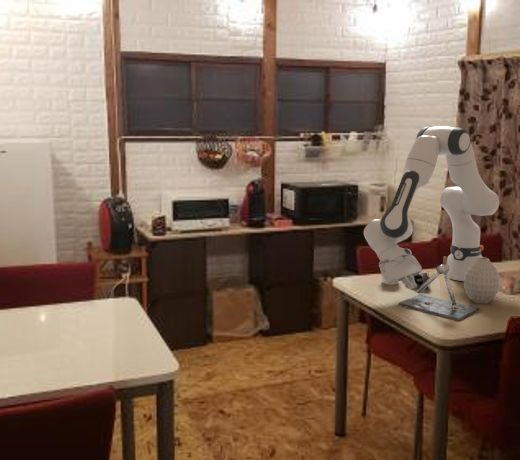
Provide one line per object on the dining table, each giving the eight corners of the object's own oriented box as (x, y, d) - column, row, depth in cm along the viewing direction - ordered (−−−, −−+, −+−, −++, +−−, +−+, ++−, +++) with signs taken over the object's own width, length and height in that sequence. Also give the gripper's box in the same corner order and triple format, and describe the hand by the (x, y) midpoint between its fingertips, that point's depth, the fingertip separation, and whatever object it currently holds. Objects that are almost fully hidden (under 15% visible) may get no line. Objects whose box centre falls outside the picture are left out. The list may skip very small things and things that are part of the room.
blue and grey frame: (419, 296, 234) (422, 248, 230) (478, 310, 217) (482, 259, 214) (398, 305, 224) (400, 254, 220) (458, 320, 207) (462, 266, 203)
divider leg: (416, 288, 225) (442, 262, 216) (422, 294, 224) (448, 269, 215) (414, 289, 224) (440, 263, 215) (420, 295, 223) (446, 270, 214)
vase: (501, 299, 230) (505, 257, 227) (493, 308, 220) (497, 264, 217) (467, 293, 237) (470, 252, 234) (458, 302, 227) (461, 259, 224)
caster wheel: (406, 288, 254) (431, 286, 252) (405, 289, 243) (431, 288, 241) (405, 272, 255) (429, 270, 252) (403, 273, 244) (429, 271, 241)
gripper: (382, 257, 221) (404, 288, 216) (412, 248, 235) (433, 277, 230) (371, 267, 225) (392, 298, 220) (401, 258, 239) (422, 286, 234)
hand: (413, 287), depth 225 cm, fingers closed
